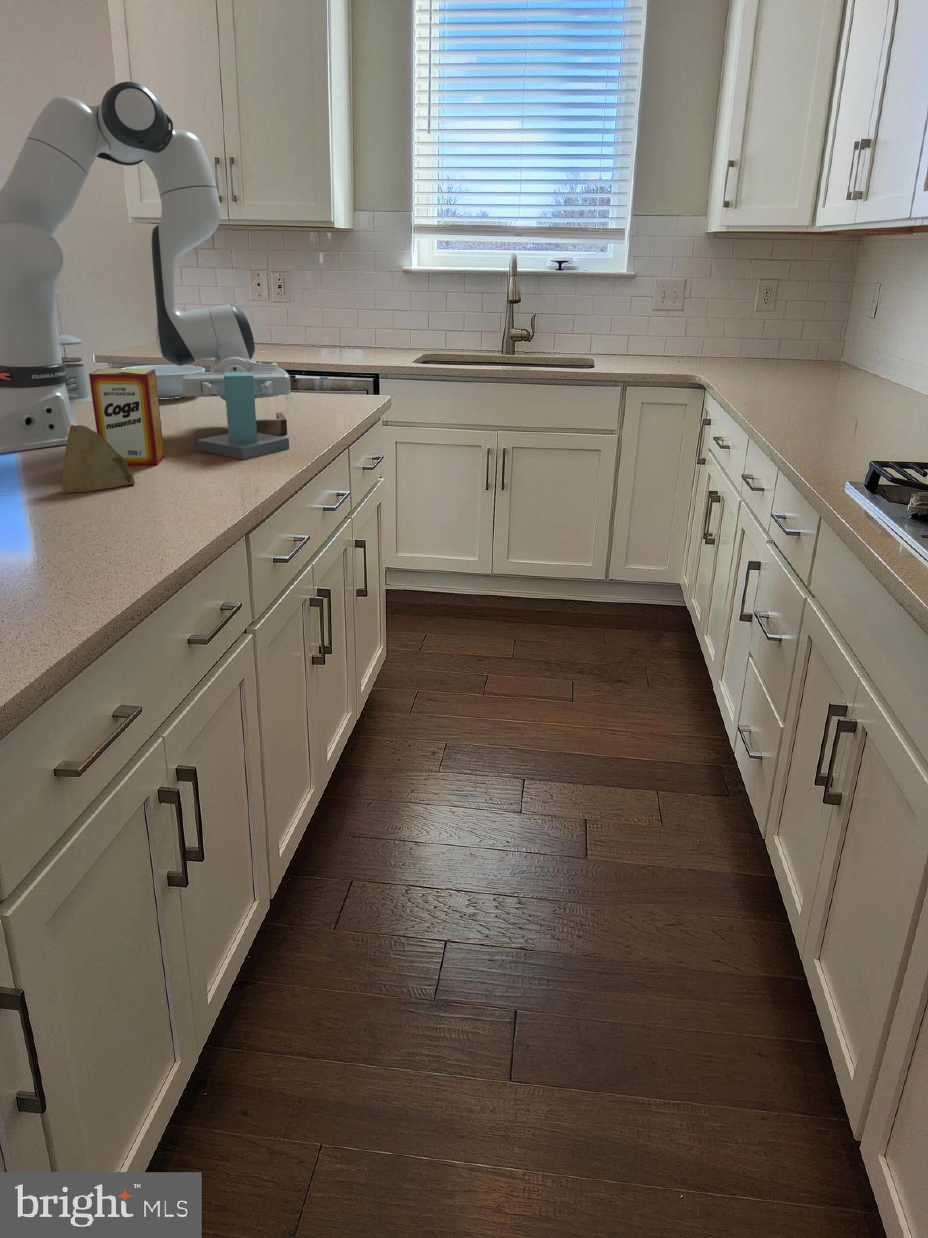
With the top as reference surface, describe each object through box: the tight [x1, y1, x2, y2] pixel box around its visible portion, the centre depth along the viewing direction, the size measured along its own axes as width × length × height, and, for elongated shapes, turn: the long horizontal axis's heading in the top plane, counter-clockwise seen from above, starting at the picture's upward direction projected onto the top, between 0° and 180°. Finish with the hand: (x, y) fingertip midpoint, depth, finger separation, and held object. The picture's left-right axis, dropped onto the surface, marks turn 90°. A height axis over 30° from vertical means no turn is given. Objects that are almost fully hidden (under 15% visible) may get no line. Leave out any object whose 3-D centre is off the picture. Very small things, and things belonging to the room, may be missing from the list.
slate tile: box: [196, 433, 290, 460], centre depth 172 cm, size 12×12×2 cm
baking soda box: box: [88, 367, 165, 467], centre depth 159 cm, size 10×6×16 cm
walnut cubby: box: [256, 411, 288, 436], centre depth 188 cm, size 10×9×3 cm
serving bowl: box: [120, 364, 206, 399], centre depth 225 cm, size 21×21×7 cm
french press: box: [57, 291, 93, 405], centre depth 214 cm, size 10×12×25 cm
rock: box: [61, 424, 136, 495], centre depth 143 cm, size 11×9×10 cm
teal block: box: [224, 372, 257, 442], centre depth 169 cm, size 5×5×12 cm
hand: (239, 390), depth 169 cm, fingers open, 8 cm apart
